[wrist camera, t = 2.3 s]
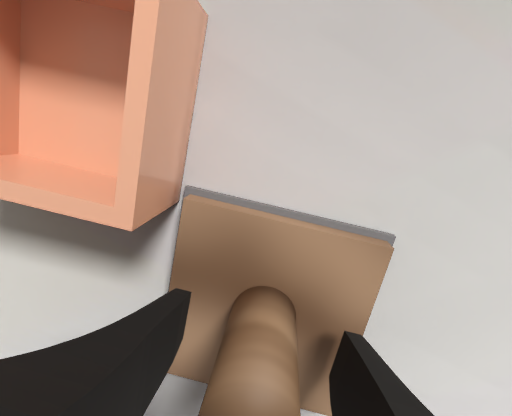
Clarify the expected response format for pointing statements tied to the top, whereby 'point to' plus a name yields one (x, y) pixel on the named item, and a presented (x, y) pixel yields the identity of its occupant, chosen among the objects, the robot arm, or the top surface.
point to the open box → (97, 105)
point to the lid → (268, 305)
